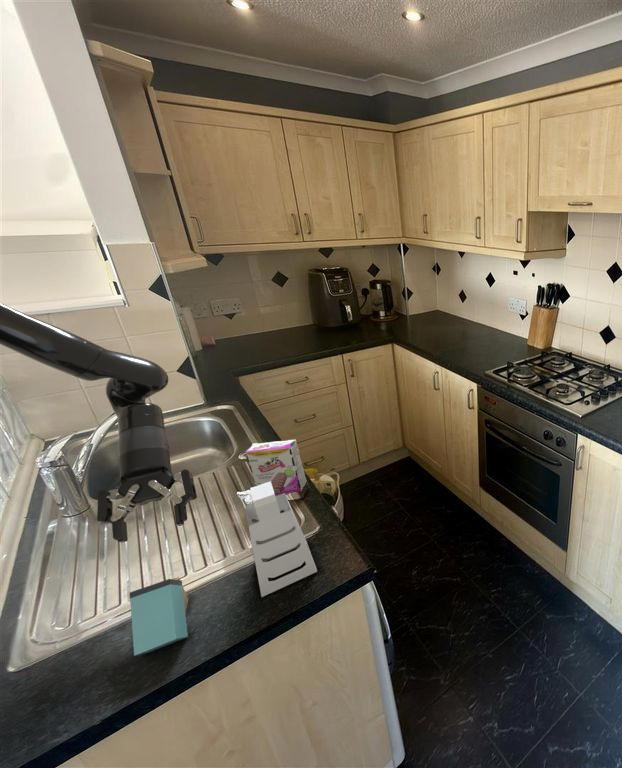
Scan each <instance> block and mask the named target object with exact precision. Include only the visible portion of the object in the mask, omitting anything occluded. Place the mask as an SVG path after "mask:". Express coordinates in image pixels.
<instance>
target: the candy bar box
mask: <svg viewBox="0 0 622 768" xmlns="http://www.w3.org/2000/svg"><path fill="white" fill-rule="evenodd" d="M245 458H246V460H247V464H248V466H249V470H250V473H251V476H252V479H253V482H254V485H255V486H258V485H261V484H264V483H267V482H270V481H271V484H272V487H273V490H274V494H275V496H278V495H281V494H284V493H285V494H286V495H287V494H289V493H293V492H297V491H302V489H303V487H304V486H305V484H306V482H307V483H308V481H307V477H306V473H305V469H304V465H303V462H302V458H301V454H300V449H299V446H298V441H297V439H286V440H277V441H276V440H275V441H267V442H265V441H264V442H255V443H252V444H251V445H250V446H249V447H248V449H246V450H245ZM255 486H254V487H255Z"/></svg>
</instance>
